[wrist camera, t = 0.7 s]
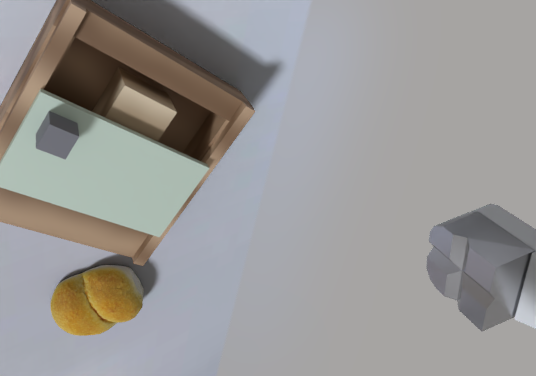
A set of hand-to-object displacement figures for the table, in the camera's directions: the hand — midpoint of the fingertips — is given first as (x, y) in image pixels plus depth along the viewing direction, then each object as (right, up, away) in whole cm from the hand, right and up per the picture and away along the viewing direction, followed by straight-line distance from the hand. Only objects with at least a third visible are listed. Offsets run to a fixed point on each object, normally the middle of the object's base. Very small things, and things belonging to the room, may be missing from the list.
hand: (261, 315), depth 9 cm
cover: (-12, +4, +28) cm, 30 cm away
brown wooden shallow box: (-13, +7, +31) cm, 34 cm away
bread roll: (-18, -8, +41) cm, 45 cm away
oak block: (-11, +9, +29) cm, 33 cm away
